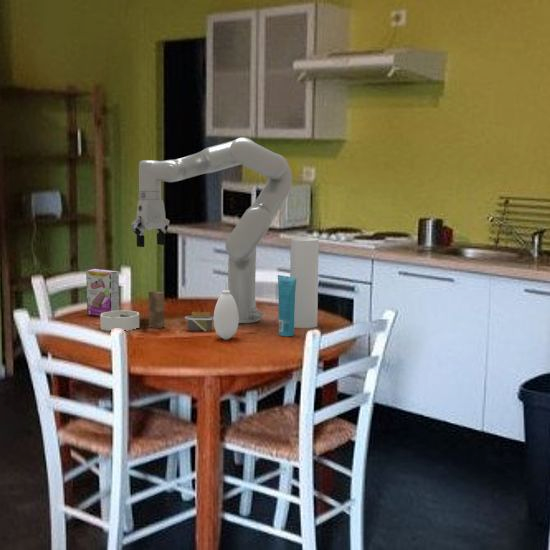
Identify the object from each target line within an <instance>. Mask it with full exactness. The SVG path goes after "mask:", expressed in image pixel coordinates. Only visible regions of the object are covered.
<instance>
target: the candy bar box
mask: <svg viewBox="0 0 550 550" xmlns="http://www.w3.org/2000/svg"><path fill="white" fill-rule="evenodd" d="M85 273H86V275H85V276H86V279H85V280H86V307H87V309H86V310H87V316H91V317H92V316H93V317H99V318H100V315H101V313H104V312H109V311H120V286H119V285H120V283H119V282H120V281H119V280H120V279H119V278H120V276H119V273H120V272H119V271H117V270H110V269H109V270H107V269H100V268H99V269H98V268H93V269H88V270H86V271H85Z"/></svg>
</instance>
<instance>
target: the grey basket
mask: <svg viewBox="0 0 550 550" xmlns="http://www.w3.org/2000/svg"><path fill="white" fill-rule="evenodd" d="M184 319H186V320H187V330H188V329H189V330H188V331H200V330H204V332H206V331H207V330H212V331H213V320H214V315H213V316H212V315H211V316H210V311H209V312H208V311H203V312H202V311H191V315H185V316H184ZM207 332H208V331H207Z"/></svg>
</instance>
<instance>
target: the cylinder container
mask: <svg viewBox="0 0 550 550" xmlns="http://www.w3.org/2000/svg"><path fill="white" fill-rule="evenodd" d="M319 244H320V243H319V238H316V237H315V238H314V237H306V236H303V237H295V238H293V237H292V238H290V260H289V261H290V265H289V266H290V267H289V268H290V271H289V273H290V275H289V277H297V278H296V289H295V312H294V329H295V328H296V329H312V328H317V327H318V308H319V307H318V306H319V305H318V304H319V297H318V296H319V294H318V293H319V292H318V291H319V247H320V246H319Z"/></svg>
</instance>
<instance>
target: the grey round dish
mask: <svg viewBox="0 0 550 550" xmlns="http://www.w3.org/2000/svg"><path fill="white" fill-rule="evenodd" d="M99 319H100V320H99V321H100V330H101V331H107V332H111V331H110V330H111V329H112V328H122V329H125V330H126V331H125V332H130V331H133V330H132V329H135V330H137V329H136V328H139V329H140V312H139V311H134V310H125V309H123V310H122V309H121V310H119V311H109V312H104V313H101V315H100V317H99ZM129 330H130V331H129Z"/></svg>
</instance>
